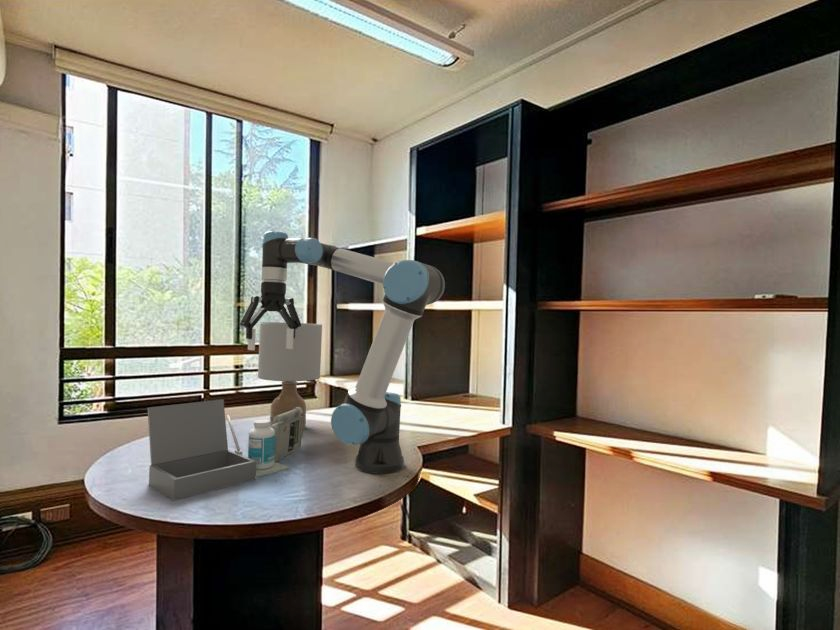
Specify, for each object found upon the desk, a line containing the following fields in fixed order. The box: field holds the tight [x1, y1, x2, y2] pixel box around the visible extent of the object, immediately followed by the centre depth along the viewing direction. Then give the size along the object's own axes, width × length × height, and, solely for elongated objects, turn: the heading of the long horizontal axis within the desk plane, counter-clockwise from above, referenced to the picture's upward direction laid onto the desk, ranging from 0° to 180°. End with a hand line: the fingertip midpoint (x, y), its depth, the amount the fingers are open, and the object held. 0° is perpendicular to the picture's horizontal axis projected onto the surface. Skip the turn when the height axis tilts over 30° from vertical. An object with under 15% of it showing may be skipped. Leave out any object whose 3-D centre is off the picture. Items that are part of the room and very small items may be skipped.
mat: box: [256, 461, 289, 478], centre depth 142 cm, size 11×11×1 cm
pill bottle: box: [247, 418, 275, 470], centre depth 142 cm, size 8×7×14 cm
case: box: [147, 398, 257, 501], centre depth 131 cm, size 19×23×20 cm
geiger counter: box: [269, 407, 304, 462], centre depth 159 cm, size 14×6×25 cm
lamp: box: [257, 321, 323, 431], centre depth 192 cm, size 24×24×42 cm
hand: (270, 349), depth 150 cm, fingers open, 13 cm apart
